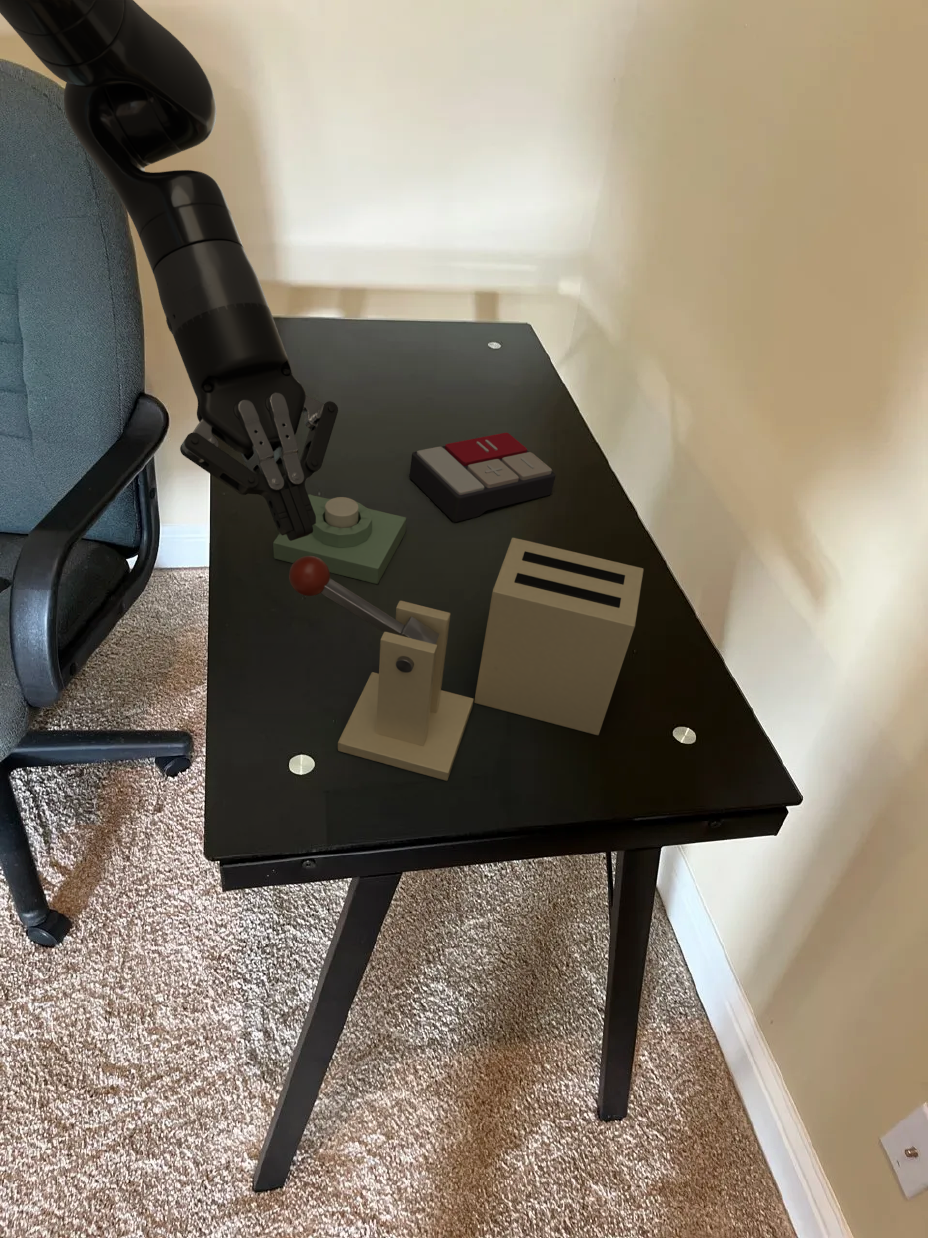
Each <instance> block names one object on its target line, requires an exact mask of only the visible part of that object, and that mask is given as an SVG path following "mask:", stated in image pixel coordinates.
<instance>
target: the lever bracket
mask: <svg viewBox="0 0 928 1238" xmlns="http://www.w3.org/2000/svg"><path fill="white" fill-rule="evenodd" d="M395 610H396V611H395V619H396V620H397V621H399V622H401V623H402V624H405V623H406V622H407V621H408V620H409V618H410V617H411V616H412V617H413V618H415V619H417V620H418V621H420V622H421V623H423V624H424V625H426V626H428V627H429V628H431V629H432V630H434V631H436V632H437V633H439V634H440V635H439V637H438V640H437V642H436V644H431V643H427V642H423V641H420V640H416V639H412V638H408V637H404V636H400V635H396V634H392V633H388V632H383V634H382V636H381V638H380V643H379V664H378V665H379V666H378V672H373V671H371V673H370V675H369V677H368V679H367V682H366V683H365V686H364V687H363V690H362V691H361V694H360V696H359V698H358V700H357V702H356V704H355V707H354V708H353V710H352V712H351V714H350V717H349V718H348V721H347V723H346V724H345V727H344V729H343V731H342V733H341V735H340V737H339V739H338V742H337V751H338V752H341V753H345V754H348V755H352V756H354V757H359V758H362V759H366V760H370V761H374V762H377V763H380V764H385V765H388V766H391V767H395V768H399V769H402V770H406V771H410V772H413V773H416V774H420V775H424V776H427V777H430V778H431V777H432V778H435V779H437V780H442V781H446V782H447V781H448V780H449V777H450V774H451V771H452V768H453V766H454V763H455V759H456V757H457V754H458V751H459V748H460V744H461V742H462V739H463V736H464V733H465V730H466V727H467V724H468V721H469V719H470V715H471V712H472V710H473V707H474V706H473V705H474V700H475V698H474V697H473V698H472V697H469V696H466V695H462V694H457V693H454V692H450V691H447V690H442V686H443V685H442V684H443V677H444V670H445V661H446V654H447V646H448V637H449V630H450V621H451V612H449V611H444V610H440V609H435V608H432V607H428V606H423V605H421V604H420V605H419V604H416V603H412V602H408V601H404V600H399V601H398V603H397V605H396V607H395Z"/></svg>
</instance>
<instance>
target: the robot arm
mask: <svg viewBox="0 0 928 1238" xmlns="http://www.w3.org/2000/svg"><path fill="white" fill-rule="evenodd" d="M0 15H1V16H2V17H3V18H4V19H5V21H6V22H7V23H8V24H9V25H10V26H11V28H12V29H13V30H14V31H15V32H16V33H17V35H18V36H19V37H20V38H21V40H23V42H24V43H25V44H26V46H28V48H29V49H30V50H31V51H32V53H33V54H34V55H35V56H36V57H37V58H38V60H40V62H41V63H42V64H43V65H44V66H45V67H46V68H47V69H48V70H49V72H51V73H52V74H53V75H54V76H56V77H57V78H58V79H60V81H63V82H65V86H64V90H63V91H64V92H63V106H64V111H65V115H66V119H67V121H68V124H69V126H70V128H71V130H72V132H73V133H74V135H75V136H76V138H77V139H78V141H79V142H80V144H81V145H82V147H83V149H84V150H85V151H86V152H87V153H88V155H89V156H90V158H91V159H92V161H94V163H95V164H96V166H97V167H98V168H99V170H100V171H101V172H102V173H103V175H104V176H105V177H106V179H107V181H108V182H109V183H110V185H111V187H112V188H113V190H114V191H115V193H116V195H117V197H118V198H119V200H120V201H121V203H122V204H123V206H124V208H125V211H126V212H127V213H128V215H129V217H130V219H131V221H132V224H133V225H134V228H135V230H136V232H137V234H138V235H137V236H138V237H139V240H140V243H141V245H142V248H143V251H144V253H145V257H146V259H147V261H148V263H149V266H150V269H151V272H152V275H153V277H154V280H155V284H156V287H157V290H158V292H157V293H158V296H159V300H160V305H161V308H162V311H163V313H164V315H165V322H166V326H167V328H168V330H169V332H170V333H171V334H172V337H173V339H174V341H175V344H176V345H175V346H176V347H177V350H178V352H179V355H180V358H181V360H182V363H183V366H184V368H185V371H186V373H187V376H188V379H189V382H190V385H191V387H192V389H193V392H194V394H195V397H196V400H197V410H196V418H197V421H198V422H199V423H198V424H197V425H196V427H194V430H193V431H192V432H190V433H189V434H187V435H186V437H185V439H184V440H183V442H182V443H181V445H180V446H179V451H180V453H181V455H182V456H184V457H185V458H186V459H188V460H189V461H191V462H192V463H194V464H195V465H196V466H198V467H200V468H201V469H203V470H204V471H206V472H207V473H208V474H210V475H211V476H212V477H214V478H216V479H217V480H219V481H220V482H221V483H223V484H224V485H226V486H227V487H229V488H230V489H232V490H233V491H235V492H236V493H237V494H239V495H242V496H246V495H257V496H261V497H263V498H264V500H265V501H266V503H267V507H268V509H269V512H270V515H271V517H272V520H273V522H274V525H275V528H276V530H277V532H278V533H279V534H281V535H287V537H288V539H289V540H290V541H292V540H295V539H298V538H301V537H305V536H308V535H309V534H311V533H313V526H312V525H314V524H316V515H315V513H314V510H313V507H312V505H311V502H310V499H309V497H308V494H309V493H308V491H307V489H306V485H305V484H306V480H307V479H308V478H310V477H311V476H312V475H313V474H315V473H316V472H319V470H320V469H322V466H323V463H324V459H325V456H326V452H327V449H328V446H329V443H330V440H331V436H332V433H333V429H334V427H335V423H336V420H337V416H338V413H339V407H338V405H337V403H335V402H334V401H331V400H328V401H326V402H325V403H323V402H320V401H318V400H316V398H315V399H314V398H313V397H310V396H308V395H307V394H306V390H305V388H304V386H303V385H302V384H301V383H300V381H299V380H297V378H296V377H295V375H294V374H293V372H292V368H291V365H290V364H291V363H290V360H289V357H288V355H287V351H286V350H285V349H286V348H285V346H284V344H283V341H282V339H281V336H280V333H279V330H278V328H277V325H276V322H275V320H274V317H273V315H272V311H271V309H270V306H269V303H268V301H267V297H266V295H265V292H264V289H263V287H262V285H261V281H260V280H259V279H260V278H259V277H258V274H257V273H256V271H255V269H254V266H253V265H252V262H251V261H250V259H249V257H248V254H247V253H246V251H245V248H244V245H243V243H242V240H241V237H240V234H239V232H238V229H237V226H236V223H235V221H234V218H233V216H232V212H231V209H230V206H229V204H228V201H227V200H226V197H225V194H224V191H223V190H222V188H221V186H220V185H219V183H218V182H217V180H215V179H214V178H213V177H212V176H211V175H209V174H207V173H205V172H202V171H199V170H194V169H193V170H192V169H179V170H178V169H177V170H175V169H174V170H166V171H156V172H155V171H146V170H145V168H146V167H148V166H150V165H153V164H155V163H158V162H160V161H162V160H165V159H168V158H169V157H170V158H171V157H172V156H175V155H177V154H180V153H182V152H185V151H187V150H189V149H191V148H192V149H193V148H194V147H197V146H199V145H200V144H202V143H203V142H205V141H206V140H208V138H209V137H210V136H211V135H212V132H213V131H214V128H215V124H216V121H217V102H216V101H217V100H216V97H215V93H214V90H213V88H212V85H211V83H210V80H209V79H208V77H207V75H206V73H205V71H204V69H203V68H202V66H201V65H200V63H199V62H198V60H197V59H196V58H195V57H194V55H193V54H192V52H191V51H189V49H188V48H187V47H186V46H185V45H184V44H183V43H182V42H181V40H179V39H178V38H177V37H176V36H175V35H174V34H173V33H172V32H170V31H169V30H168V29H167V28H165V26H163V25H162V24H161V23H159V22H158V21H157V20H156V19H154V18H153V17H152V16H151V15H150V14H149V13H148V12H146V10H144V9H143V8H142V6H140V5H139V4H138V3H137V2H136V1H135V0H0ZM302 414H303V416H304V420H303V422H304V425H305V427H306V428H308V433H307V437H306V439H305V443H304V446H303V449H302V452H301V456H300V457H299V446H298V442H297V438H296V435H297V431H298V429H299V425H300V421H301V417H302ZM218 439H219V440H220V441H222V442H223V443H224V444H226V445H227V446H229V448H231V449H232V450H234V451H235V452H238V453H240V455H241V457H242V460H243V462H244V464H245V465H244V464H243V463H242V462H240V461H238V459H236V458H234V457H233V456H231V455H230V454H229V453H227V452H225V451H224V450H223V449H221V448H219V446H220V443H219V440H218Z"/></svg>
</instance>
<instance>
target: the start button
mask: <svg viewBox="0 0 928 1238" xmlns="http://www.w3.org/2000/svg"><path fill="white" fill-rule="evenodd" d="M356 502H357V501H356V500H354V499H352V498H351V497H345V496H337V497H333V498H330V500H329V501H328V502H327V503H326V505H325V520H326V522H327V524H329V525H330V526H333V527H337V528H350V527H352V526H354V525H356V524H357V522H358V504H357V503H356Z"/></svg>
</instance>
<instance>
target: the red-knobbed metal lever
mask: <svg viewBox="0 0 928 1238" xmlns="http://www.w3.org/2000/svg"><path fill="white" fill-rule="evenodd" d="M288 579H289V582H290V585H291V588H293V589H294V591H295V592H297V593H298V594H299V595H303V596H304V597H305V596H306V597H314V596H317V595H319V594H321V595H322V596H324V597H326V598H328V599H329V600H331V601H333V602H334V603H336V604H337V605H339V606H341V607H342V608H344V610H347V611H349V612H350V613H351V614H353V615H354V616H356V617H358V618H360V619H362V620H363V621H364V622H366V623H368V624H370V626H373V627H374V628H376V629H377V630H379V631H380V632H382V633H384V632H388V633H392V634H396V635H400V636H404V637H408V638H412V639H416V640H420V641H423V642H427V643H431V644H436V642H437V640H438V637H439V635H440V634H439V633H437V632H436V631H434V630H432V629H431V628H429V627H428V626H426V625H424V624H423V623H421V622H420V621H418V620H417V619H415V618H413V617H412V616H411V617H410V618H409V620H408V621H407V622H406V623H405V624H402V623H401V622H399V621H397V620H396V618H394V617H392V616H391V615H389V614H388V613H387V612H384V611H383V610H381V609H380V608H378V607H377V606H375V605H373V604H372V603H370V602H368V601H367V600H365V599H364V598H362V597H361V596H359V595H357V594H356V593H354V592H353V591H351V590H350V589H348V588H346V587H345V586H343V585H342V584H340V583H339V582H337V581H335V580H333V579H332V578H331V572H329V569H328V567H327V565H326V564H325V562H324V561H322V560H321V559H320V558H317V557H315V556H304V557H301V558H299V559H298V560H296V561H295V562H294V563H292V564H291V566H290V568H289V572H288Z"/></svg>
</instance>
